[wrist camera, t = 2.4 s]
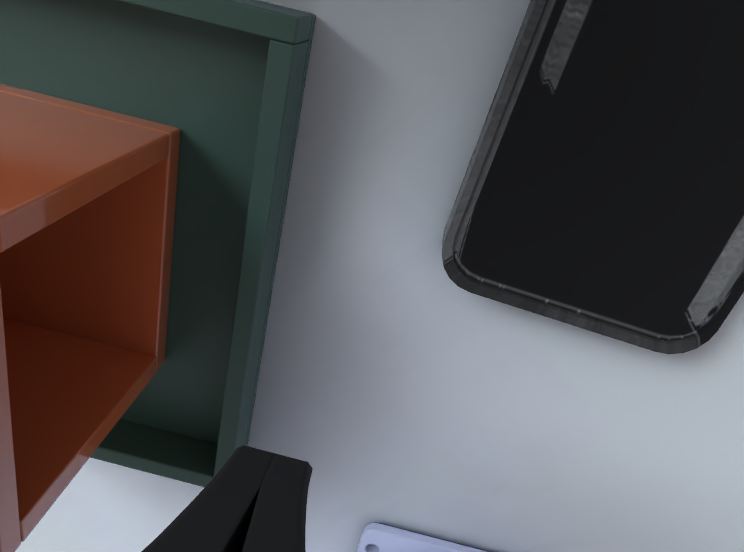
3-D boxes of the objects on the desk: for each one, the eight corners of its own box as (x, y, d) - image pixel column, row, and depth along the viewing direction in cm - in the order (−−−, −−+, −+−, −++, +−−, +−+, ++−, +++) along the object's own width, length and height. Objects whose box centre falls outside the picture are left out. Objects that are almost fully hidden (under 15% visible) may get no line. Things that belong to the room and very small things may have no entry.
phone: (1171, -348, 10) (695, 365, 16) (1103, -315, 11) (681, 343, 17) (721, -503, 10) (426, 278, 16) (695, -455, 11) (427, 262, 17)
